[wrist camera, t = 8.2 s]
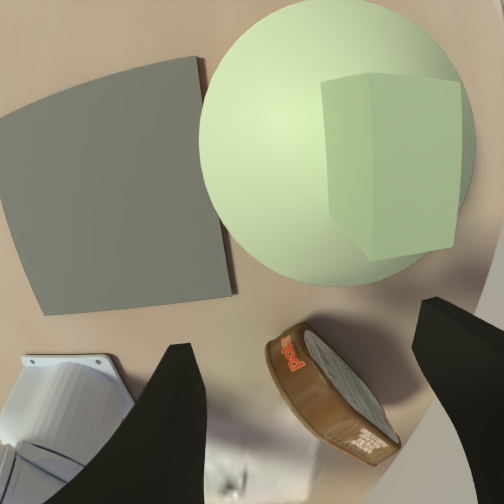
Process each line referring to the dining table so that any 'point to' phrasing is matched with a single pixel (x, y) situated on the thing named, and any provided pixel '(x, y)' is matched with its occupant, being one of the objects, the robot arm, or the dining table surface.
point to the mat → (113, 193)
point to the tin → (329, 396)
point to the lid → (337, 142)
